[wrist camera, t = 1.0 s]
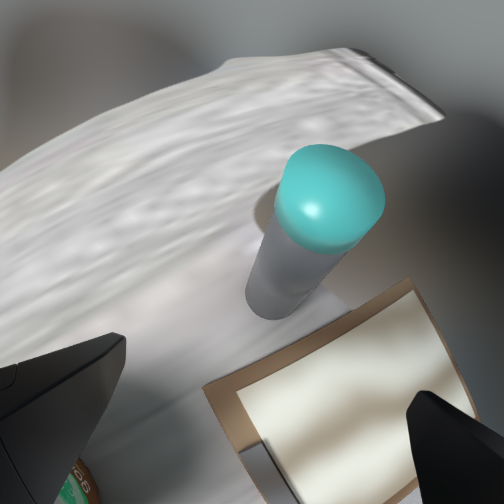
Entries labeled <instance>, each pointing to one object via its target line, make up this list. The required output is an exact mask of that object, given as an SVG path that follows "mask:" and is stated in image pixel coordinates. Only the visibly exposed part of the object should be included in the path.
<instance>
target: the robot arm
mask: <svg viewBox="0 0 504 504" xmlns="http://www.w3.org/2000/svg"><path fill="white" fill-rule="evenodd" d="M125 360H126V338H125V336H123V335H120V334H117V333H114V332H112V333H108V334H105V335H102V336H100V337H97V338H94V339H91V340H88V341H85V342H82V343H79V344H76V345H73V346H70V347H67V348H63V349H60V350H57V351H54V352H51V353H48V354H45V355H42V356H39V357H36V358H32V359H29V360H26V361H23V362H20V363H18V364H13V365H10V366H7V367H3V368H0V504H54V502H55V500H56V498H57V497H58V495H59V493H60V491H61V489H62V487H63V485H64V483H65V481H66V479H67V478H68V476H69V474H70V472H71V470H72V468H73V467H74V465H75V463H76V461H77V459H78V457H79V456H80V454H81V452H82V450H83V448H84V447H85V445H86V443H87V441H88V439H89V438H90V436H91V434H92V432H93V431H94V429H95V427H96V425H97V424H98V422H99V420H100V418H101V417H102V415H103V413H104V411H105V409H106V408H107V405H108V403H109V401H110V399H111V396H112V394H113V391H114V389H115V387H116V384H117V382H118V380H119V377H120V375H121V373H122V370H123V368H124V365H125ZM406 420H407V427H408V433H409V440H410V447H411V453H412V458H413V462H414V466H415V470H416V475H417V479H418V483H419V488H420V493H421V498H422V503H423V504H504V437H502V436H500V435H499V434H497V433H496V432H494V431H493V430H491V429H489V428H488V427H486V426H485V425H483V424H481V423H480V422H478V421H477V420H475V419H474V418H472V417H470V416H469V415H467V414H466V413H464V412H463V411H461V410H459V409H458V408H456V407H455V406H453V405H452V404H450V403H449V402H447V401H445V400H444V399H442V398H441V397H439V396H438V395H436V394H435V393H433V392H431V391H429V390H420V391H418V392H417V393H416V395H415V397H414V398H413V400H412V402H411V403H410V405H409V407H408V408H407V411H406Z"/></svg>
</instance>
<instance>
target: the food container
mask: <svg viewBox="0 0 504 504" xmlns="http://www.w3.org/2000/svg"><path fill="white" fill-rule="evenodd" d="M54 504H101V500H100V495H99V490H98V487H97V485H96V483H95V481H94V479H93V477H92V475H91V473H90V471H89V469H88V468H87V467H86V466H85V464H84V463H83V462H82V461H81V459H80V458H79V457H78V459H77V461H76V463H75V465H74V467H73V468H72V470H71V472H70V474H69V476H68V478H67V479H66V481H65V483H64V485H63V487H62V489H61V491H60V493H59V495H58V497H57V498H56V500H55V502H54Z"/></svg>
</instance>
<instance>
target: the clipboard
mask: <svg viewBox="0 0 504 504" xmlns="http://www.w3.org/2000/svg"><path fill="white" fill-rule="evenodd" d="M202 389H203V391H204V393H205V395H206V397H207V399H208V401H209V403H210V405H211V407H212V409H213V411H214V413H215V415H216V417H217V418H218V420H219V422H220V424H221V426H222V428H223V430H224V432H225V433H226V435H227V437H228V439H229V441H230V443H231V444H232V446H233V448H234V450H235V451H236V453H237V455H238V457H239V458H240V460H241V462H242V464H243V465H244V467H245V469H246V470H247V472H248V474H249V475H250V477H251V479H252V480H253V482H254V484H255V485H256V487H257V489H258V490H259V492H260V493H261V495H262V496H263V498H264V500H265V501H266V503H267V504H397V503H398V502H400V501H401V500H402V499H403V498H405V497H406V496H407V495H408V494H410V493H411V492H412V491H413V490H414V489H415V488H417V487H418V486H419V483H418V479H417V475H416V470H415V466H414V462H413V458H412V453H411V447H410V440H409V433H408V427H407V420H406V411H407V408H408V407H409V405H410V403H411V402H412V400H413V398H414V397H415V395H416V393H417V392H418V391H420V390H429V391H431V392H433V393H435V394H436V395H438V396H439V397H441V398H442V399H444V400H445V401H447V402H449V403H450V404H452V405H453V406H455V407H456V408H458V409H459V410H461V411H463V412H464V413H466V414H467V415H469V416H470V417H472V418H474V419H475V420H477V421H478V422H480V423H481V419H480V417H479V414H478V412H477V409H476V407H475V405H474V402H473V400H472V397H471V395H470V393H469V391H468V388H467V386H466V384H465V381H464V379H463V377H462V375H461V373H460V370H459V368H458V366H457V364H456V362H455V360H454V358H453V356H452V354H451V352H450V350H449V348H448V346H447V344H446V342H445V340H444V338H443V336H442V334H441V332H440V330H439V328H438V326H437V324H436V322H435V321H434V319H433V317H432V315H431V313H430V311H429V310H428V308H427V306H426V304H425V302H424V300H423V299H422V297H421V295H420V294H419V292H418V290H417V288H416V286H415V285H414V283H413V281H412V280H411V278H410V276H409V277H407V278H405V279H404V280H402V281H401V282H399V283H398V284H396V285H394V286H393V287H391V288H390V289H388V290H387V291H385V292H384V293H382V294H380V295H378V296H377V297H375V298H374V299H372V300H370V301H369V302H367V303H365V304H364V305H362V306H360V307H359V308H357V309H355V310H353V311H352V312H350V313H348V314H347V315H345V316H343V317H341V318H340V319H338V320H336V321H334V322H333V323H331V324H329V325H327V326H325V327H324V328H322V329H320V330H318V331H316V332H314V333H313V334H311V335H309V336H307V337H305V338H303V339H301V340H299V341H298V342H296V343H294V344H292V345H290V346H288V347H286V348H284V349H282V350H280V351H278V352H276V353H274V354H272V355H270V356H268V357H266V358H264V359H262V360H260V361H258V362H256V363H254V364H252V365H250V366H248V367H245V368H243V369H241V370H239V371H237V372H235V373H233V374H230V375H228V376H226V377H224V378H222V379H219V380H217V381H215V382H213V383H210V384H208V385H206V386H203V387H202Z"/></svg>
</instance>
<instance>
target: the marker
mask: <svg viewBox="0 0 504 504" xmlns="http://www.w3.org/2000/svg"><path fill="white" fill-rule="evenodd" d="M384 207H385V193H384V189H383V186H382V184H381V182H380V180H379V178H378V177H377V175H376V173H375V172H374V171H373V170H372V168H371V167H370V166H369V165H368V164H367V163H366V162H364V161H363V160H362V159H361V158H359V157H358V156H356V155H355V154H353V153H351V152H349V151H347V150H345V149H342V148H339V147H336V146H332V145H324V144H317V145H309V146H306V147H303V148H301V149H299V150H298V151H296V152H295V153H294V154H293V155H292V156H291V157H290V159H289V160H288V162H287V165H286V168H285V171H284V173H283V176H282V179H281V182H280V185H279V188H278V191H277V194H276V198H275V207H274V210H273V212H272V215H271V218H270V221H269V223H268V226H267V229H266V232H265V235H264V238H263V240H262V243H261V246H260V249H259V252H258V254H257V257H256V260H255V263H254V266H253V268H252V271H251V274H250V277H249V280H248V282H247V285H246V290H245V295H246V300H247V303H248V305H249V307H250V308H251V309H252V311H253V312H254V313H256V314H257V315H258V316H260V317H262V318H265V319H268V320H279V319H283V318H285V317H287V316H288V315H290V314H291V313H292V312H293V311H294V310H295V309H296V308H297V307H298V306H299V305H300V303H301V302H302V301H303V300H304V299H305V298H306V297H307V296H308V295H309V294H310V293H311V292H312V291H313V290H314V288H315V287H316V286H317V285H318V284H319V283H320V282H321V281H322V280H323V279H324V277H325V276H326V275H327V274H328V273H329V272H330V271H331V270H332V268H333V267H334V266H335V265H336V264H337V263H338V262H339V261H340V260H341V258H342V257H343V256H344V255H345V254H346V253H347V252H348V251H349V250H350V249H352V248H353V247H355V246H356V245H357V244H358V243H359V241H360V240H361V239H362V238H363V237H364V236H365V234H366V233H367V232H368V231H369V230H370V229H371V227H372V226H373V225H374V224H375V223H376V222H377V220H378V219H379V218H380V217H381V215H382V213H383V211H384Z"/></svg>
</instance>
